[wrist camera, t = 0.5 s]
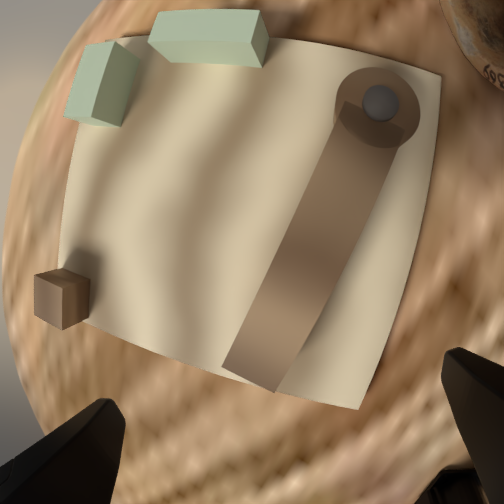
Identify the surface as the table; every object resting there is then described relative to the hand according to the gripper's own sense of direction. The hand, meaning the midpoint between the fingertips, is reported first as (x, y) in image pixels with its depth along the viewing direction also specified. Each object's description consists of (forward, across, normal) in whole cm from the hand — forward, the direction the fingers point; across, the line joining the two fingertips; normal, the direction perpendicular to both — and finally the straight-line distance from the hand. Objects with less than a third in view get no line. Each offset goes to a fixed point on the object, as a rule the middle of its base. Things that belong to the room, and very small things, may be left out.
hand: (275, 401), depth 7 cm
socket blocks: (+14, +4, -11) cm, 18 cm away
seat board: (+13, +2, -3) cm, 14 cm away
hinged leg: (+11, -3, -1) cm, 11 cm away
